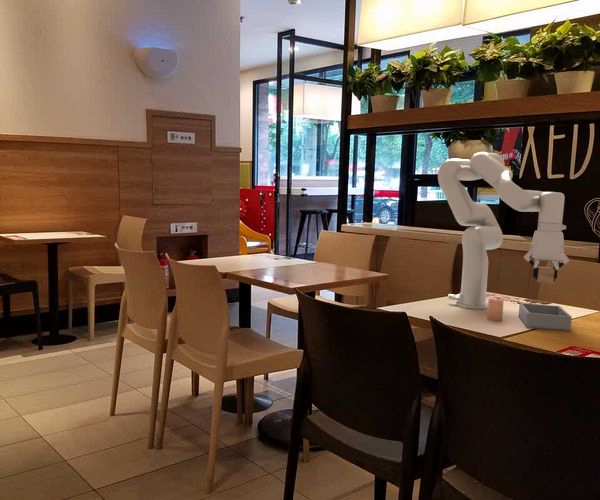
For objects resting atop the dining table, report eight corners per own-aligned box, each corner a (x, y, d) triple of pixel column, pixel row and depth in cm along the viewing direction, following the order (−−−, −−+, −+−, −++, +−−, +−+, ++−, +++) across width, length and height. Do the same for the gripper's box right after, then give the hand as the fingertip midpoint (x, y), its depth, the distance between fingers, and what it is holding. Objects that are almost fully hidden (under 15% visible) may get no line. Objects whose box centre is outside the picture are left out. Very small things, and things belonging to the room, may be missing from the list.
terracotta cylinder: (487, 320, 196) (489, 300, 196) (486, 317, 201) (487, 298, 200) (502, 321, 195) (504, 302, 194) (501, 318, 200) (502, 299, 199)
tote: (526, 327, 188) (527, 313, 187) (518, 316, 205) (519, 302, 204) (570, 331, 185) (571, 316, 184) (558, 319, 202) (559, 306, 201)
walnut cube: (535, 280, 199) (536, 266, 199) (550, 281, 198) (551, 267, 197) (537, 282, 194) (539, 268, 194) (553, 283, 193) (554, 269, 193)
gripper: (573, 228, 196) (568, 280, 198) (521, 225, 199) (516, 276, 202) (578, 230, 188) (573, 283, 191) (524, 227, 192) (519, 279, 194)
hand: (544, 279), depth 196 cm, fingers closed on walnut cube, 5 cm apart
